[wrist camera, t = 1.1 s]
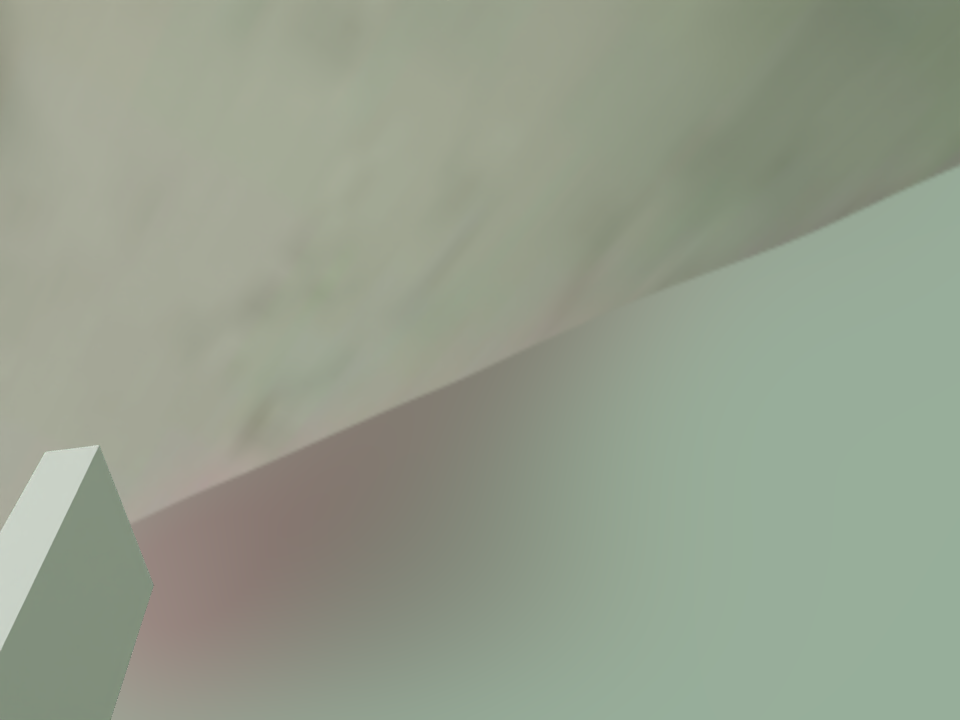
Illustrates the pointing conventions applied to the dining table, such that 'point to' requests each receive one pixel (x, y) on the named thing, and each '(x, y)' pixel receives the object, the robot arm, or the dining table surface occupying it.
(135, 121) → the dining table surface
